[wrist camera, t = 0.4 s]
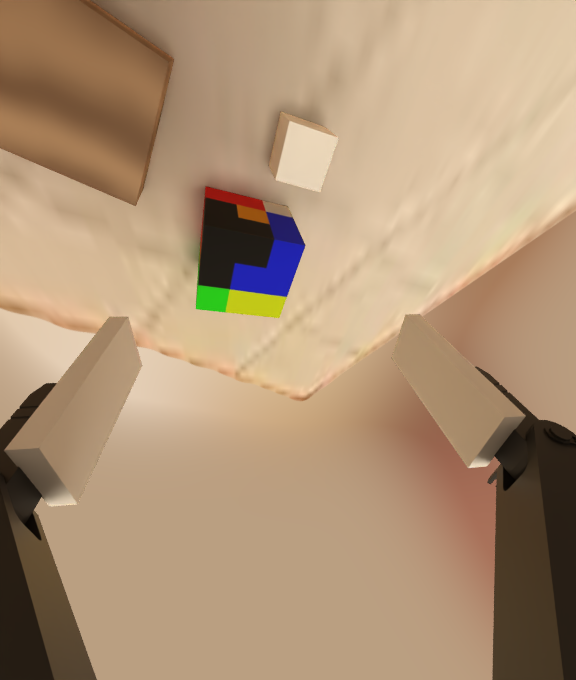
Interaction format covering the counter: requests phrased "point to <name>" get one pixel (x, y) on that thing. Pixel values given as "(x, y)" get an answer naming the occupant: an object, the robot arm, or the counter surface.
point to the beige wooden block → (301, 152)
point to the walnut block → (80, 93)
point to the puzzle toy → (246, 255)
